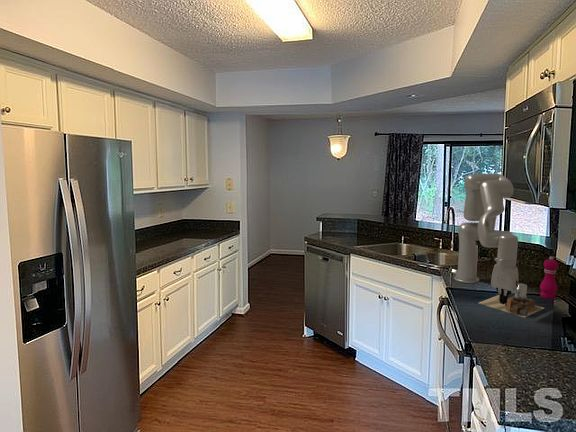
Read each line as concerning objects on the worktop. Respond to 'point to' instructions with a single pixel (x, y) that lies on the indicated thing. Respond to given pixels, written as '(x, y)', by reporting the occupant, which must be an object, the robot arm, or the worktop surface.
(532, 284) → the worktop surface
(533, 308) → the dock
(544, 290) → the pepper mill
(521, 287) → the peg
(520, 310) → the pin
